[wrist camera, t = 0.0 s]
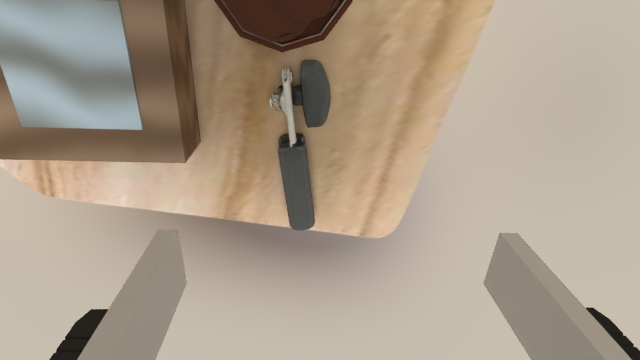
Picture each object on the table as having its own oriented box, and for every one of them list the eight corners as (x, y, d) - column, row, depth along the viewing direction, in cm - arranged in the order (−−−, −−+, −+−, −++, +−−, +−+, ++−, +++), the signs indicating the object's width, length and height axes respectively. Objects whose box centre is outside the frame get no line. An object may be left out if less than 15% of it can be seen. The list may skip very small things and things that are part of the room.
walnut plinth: (-23, -50, 33) (-91, -60, 27) (179, -40, 34) (154, -47, 28) (38, 137, 41) (-4, 160, 35) (200, 141, 42) (184, 164, 36)
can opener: (269, 59, 38) (264, 67, 34) (329, 58, 39) (332, 66, 34) (280, 213, 47) (278, 236, 42) (329, 211, 47) (332, 234, 43)
